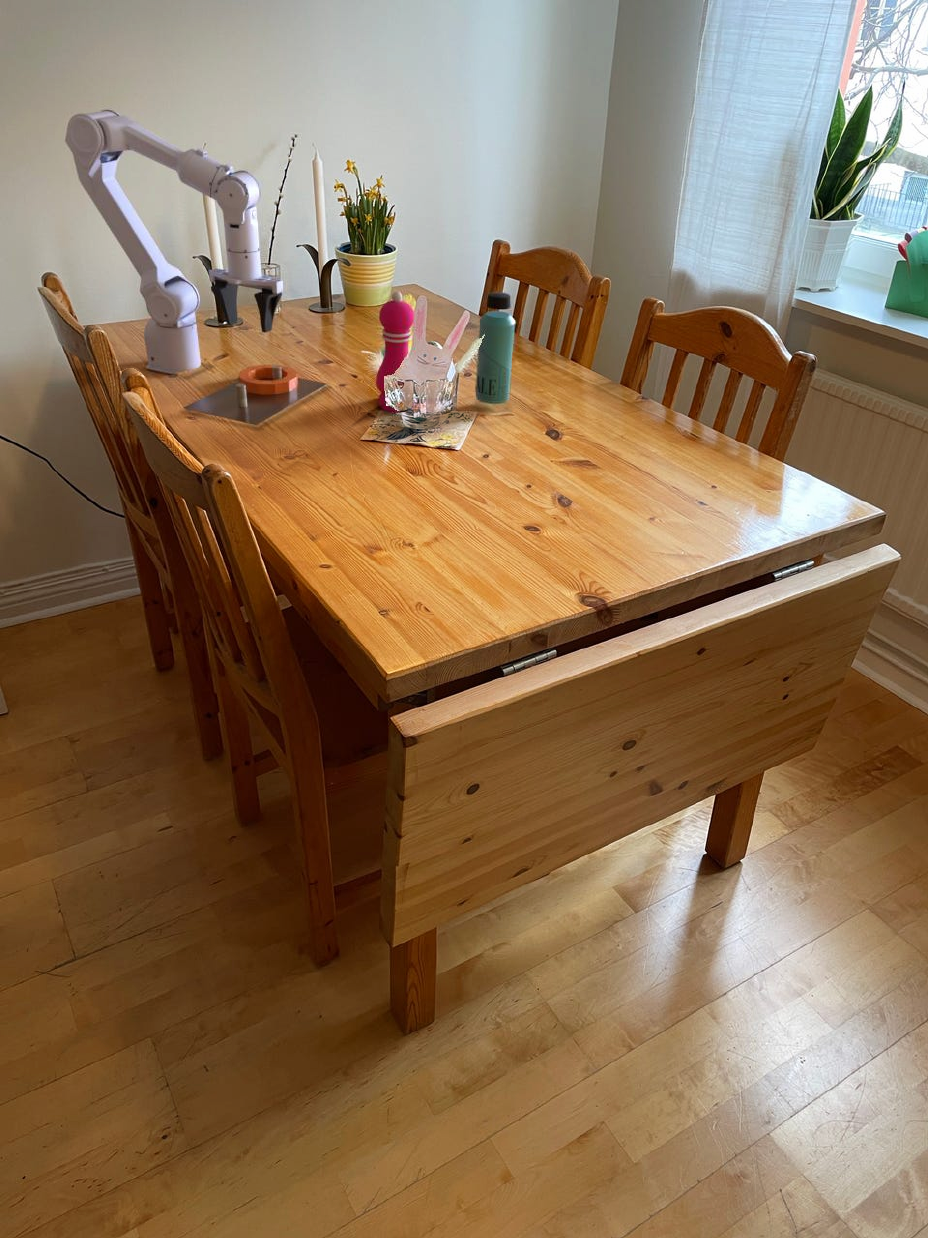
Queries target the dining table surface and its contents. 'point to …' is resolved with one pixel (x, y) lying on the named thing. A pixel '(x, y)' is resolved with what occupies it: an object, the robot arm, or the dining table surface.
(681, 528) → the dining table surface
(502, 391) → the beverage bottle
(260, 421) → the peg board
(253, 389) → the ring
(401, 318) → the pepper mill
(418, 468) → the dining table surface
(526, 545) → the dining table surface
